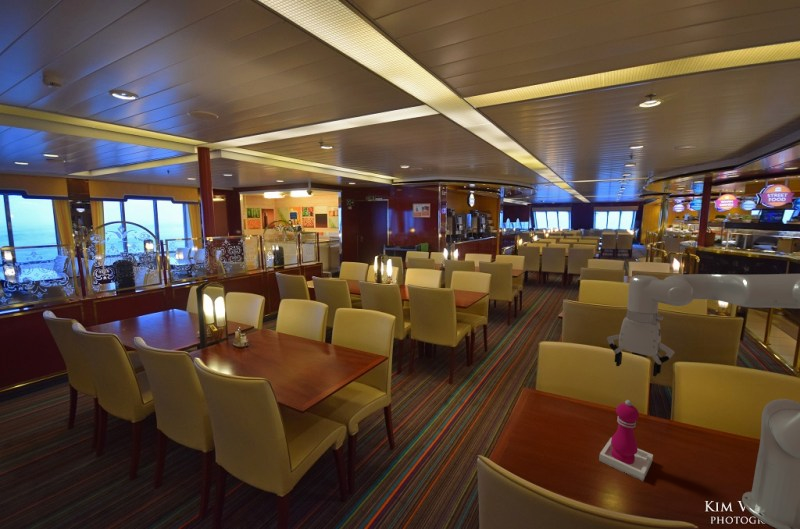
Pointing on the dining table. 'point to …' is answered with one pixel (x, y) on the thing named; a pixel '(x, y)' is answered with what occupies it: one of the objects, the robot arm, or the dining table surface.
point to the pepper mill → (625, 433)
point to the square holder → (635, 469)
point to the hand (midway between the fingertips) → (636, 369)
